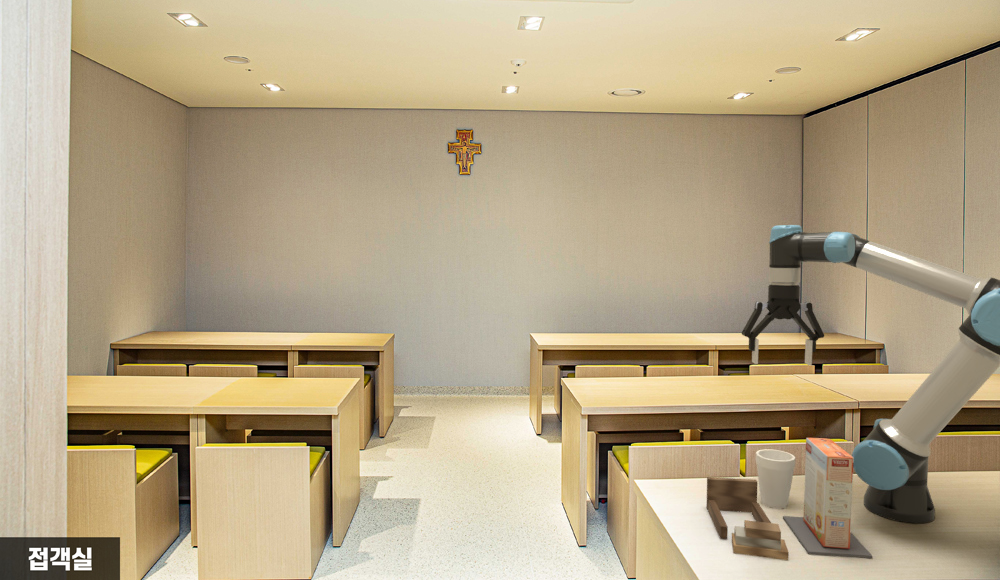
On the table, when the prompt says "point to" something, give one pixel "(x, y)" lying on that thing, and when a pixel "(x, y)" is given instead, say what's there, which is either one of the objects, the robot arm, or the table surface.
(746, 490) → the rack
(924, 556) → the table surface
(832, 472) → the cracker box
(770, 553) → the offcut stack
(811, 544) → the mat
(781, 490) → the foam cup
